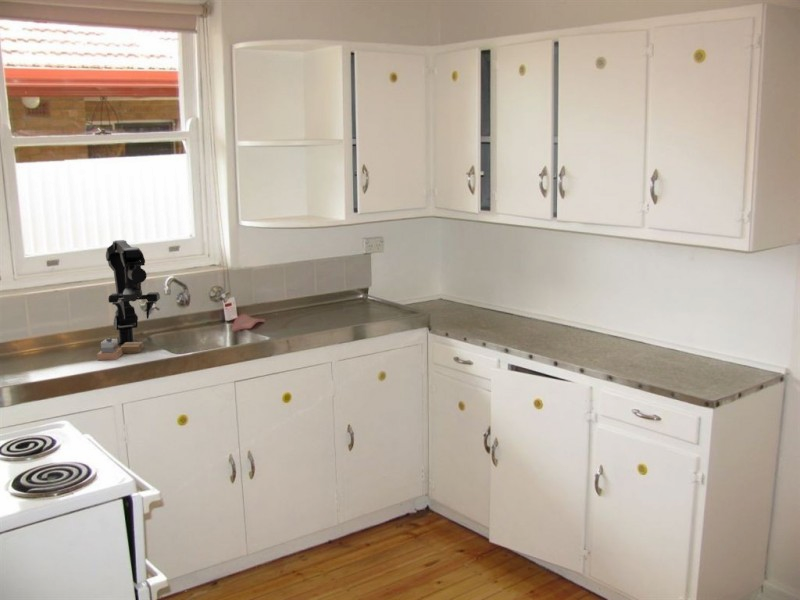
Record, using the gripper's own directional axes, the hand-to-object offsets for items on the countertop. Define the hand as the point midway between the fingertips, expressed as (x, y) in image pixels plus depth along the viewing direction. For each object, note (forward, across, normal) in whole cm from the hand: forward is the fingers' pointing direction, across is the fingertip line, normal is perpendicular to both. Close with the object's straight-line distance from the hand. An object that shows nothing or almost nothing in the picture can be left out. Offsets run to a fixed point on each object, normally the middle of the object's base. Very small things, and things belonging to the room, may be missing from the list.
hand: (135, 318), depth 333 cm
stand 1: (+13, -8, -10) cm, 18 cm away
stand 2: (+13, -2, +1) cm, 13 cm away
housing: (+10, -8, -10) cm, 16 cm away
